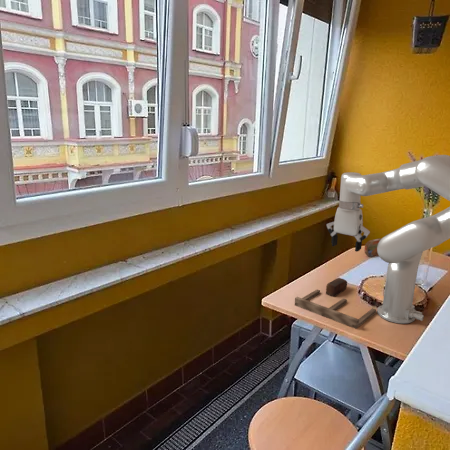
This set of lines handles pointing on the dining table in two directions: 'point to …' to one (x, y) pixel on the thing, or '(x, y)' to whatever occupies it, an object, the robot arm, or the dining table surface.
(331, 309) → the lane rack
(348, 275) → the dining table surface
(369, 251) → the tin
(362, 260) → the dining table surface
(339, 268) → the dining table surface
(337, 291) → the brick
